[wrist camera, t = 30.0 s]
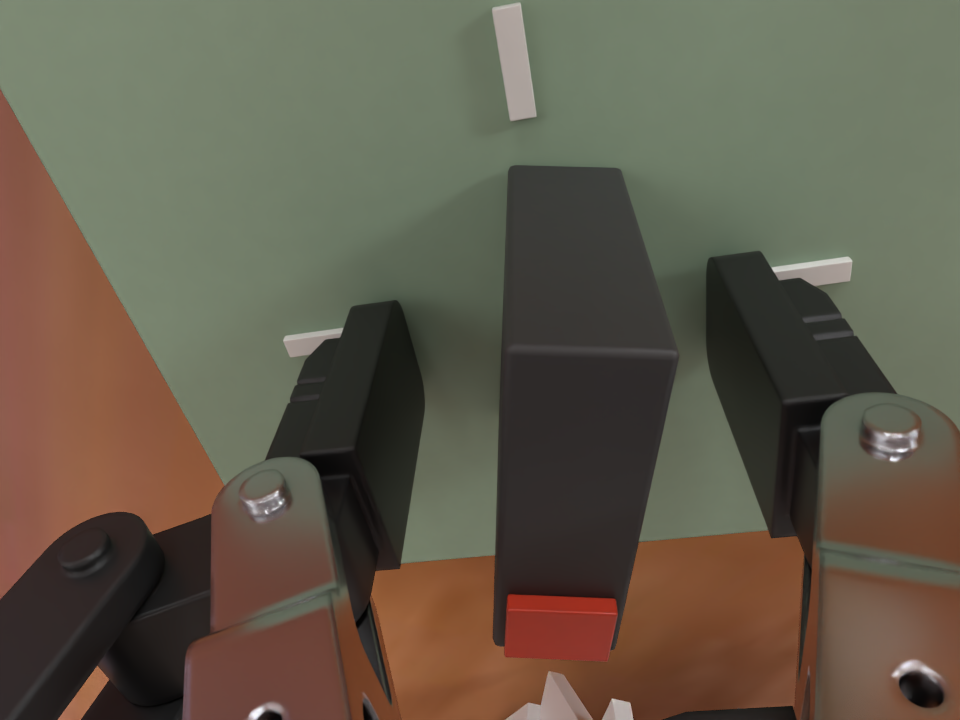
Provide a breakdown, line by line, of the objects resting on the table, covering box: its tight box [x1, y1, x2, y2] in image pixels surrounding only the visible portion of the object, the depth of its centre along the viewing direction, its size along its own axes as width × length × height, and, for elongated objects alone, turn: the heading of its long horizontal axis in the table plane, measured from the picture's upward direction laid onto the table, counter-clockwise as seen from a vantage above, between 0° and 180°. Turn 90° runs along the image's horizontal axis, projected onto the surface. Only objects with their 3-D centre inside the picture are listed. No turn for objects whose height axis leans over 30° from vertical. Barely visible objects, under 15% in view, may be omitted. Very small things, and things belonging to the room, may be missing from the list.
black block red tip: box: [493, 165, 680, 661], centre depth 10 cm, size 5×2×5 cm, turn 179°
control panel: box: [0, 0, 960, 564], centre depth 13 cm, size 14×12×3 cm
